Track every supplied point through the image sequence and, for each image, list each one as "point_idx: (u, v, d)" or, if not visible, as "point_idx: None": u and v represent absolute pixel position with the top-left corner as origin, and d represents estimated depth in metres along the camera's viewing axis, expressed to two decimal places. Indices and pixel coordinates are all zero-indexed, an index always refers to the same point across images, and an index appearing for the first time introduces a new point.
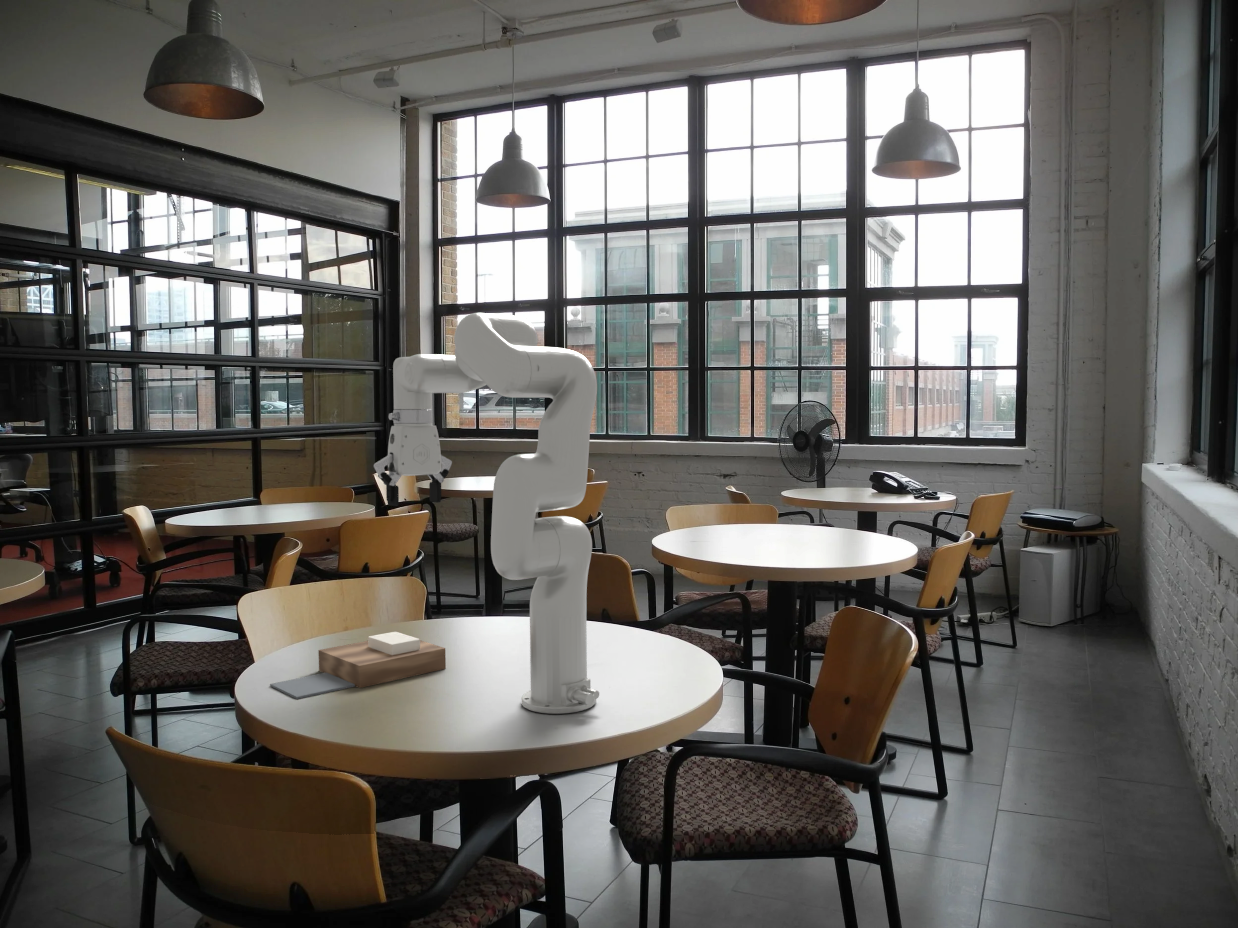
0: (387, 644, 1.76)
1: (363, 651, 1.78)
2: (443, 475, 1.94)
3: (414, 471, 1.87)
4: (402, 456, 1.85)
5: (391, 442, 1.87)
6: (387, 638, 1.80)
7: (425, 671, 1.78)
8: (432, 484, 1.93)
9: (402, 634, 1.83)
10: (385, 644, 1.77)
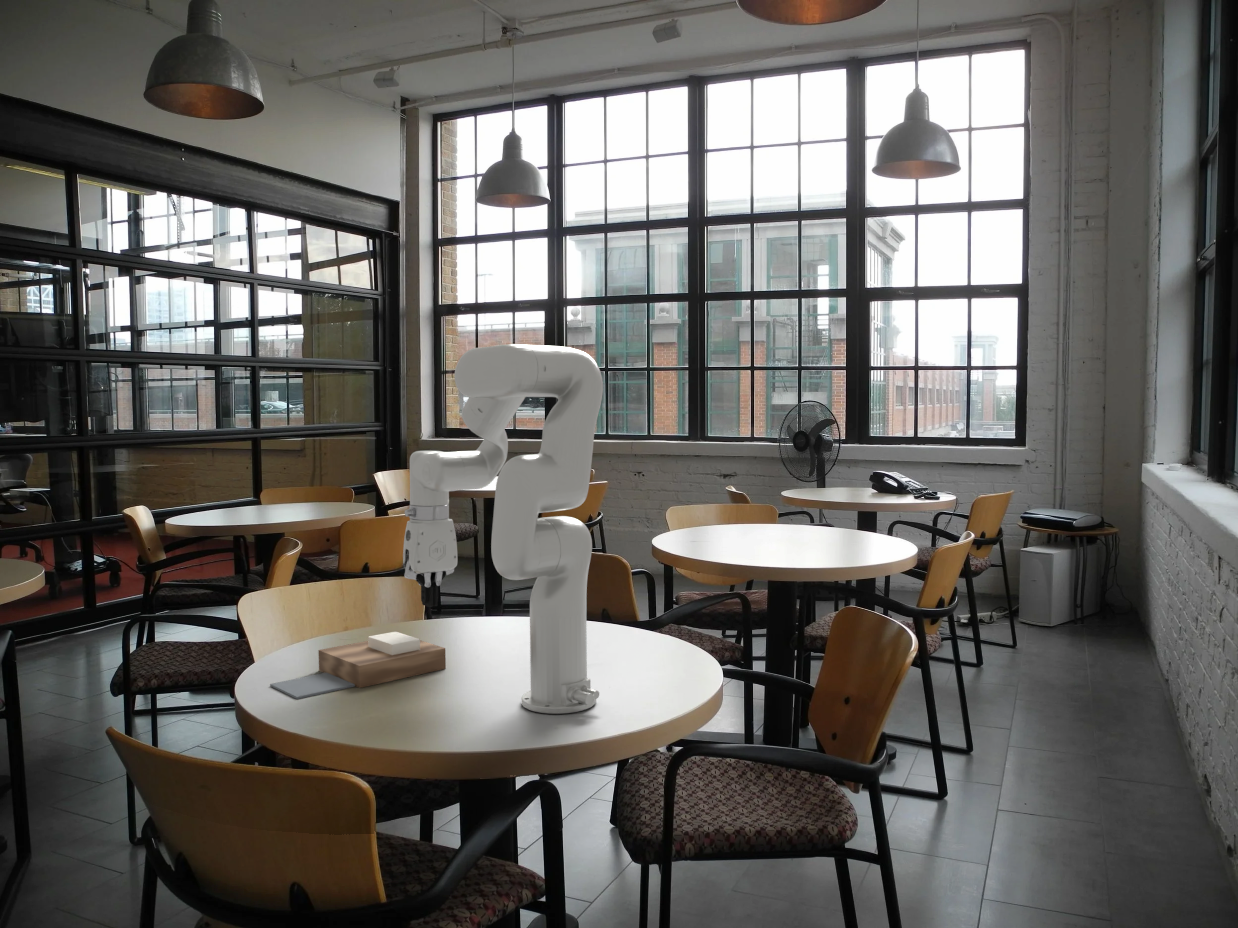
0: (387, 644, 1.76)
1: (363, 651, 1.78)
2: None
3: (430, 568, 1.83)
4: (418, 554, 1.81)
5: (407, 538, 1.83)
6: (387, 638, 1.80)
7: (425, 671, 1.78)
8: None
9: (402, 634, 1.83)
10: (385, 644, 1.77)
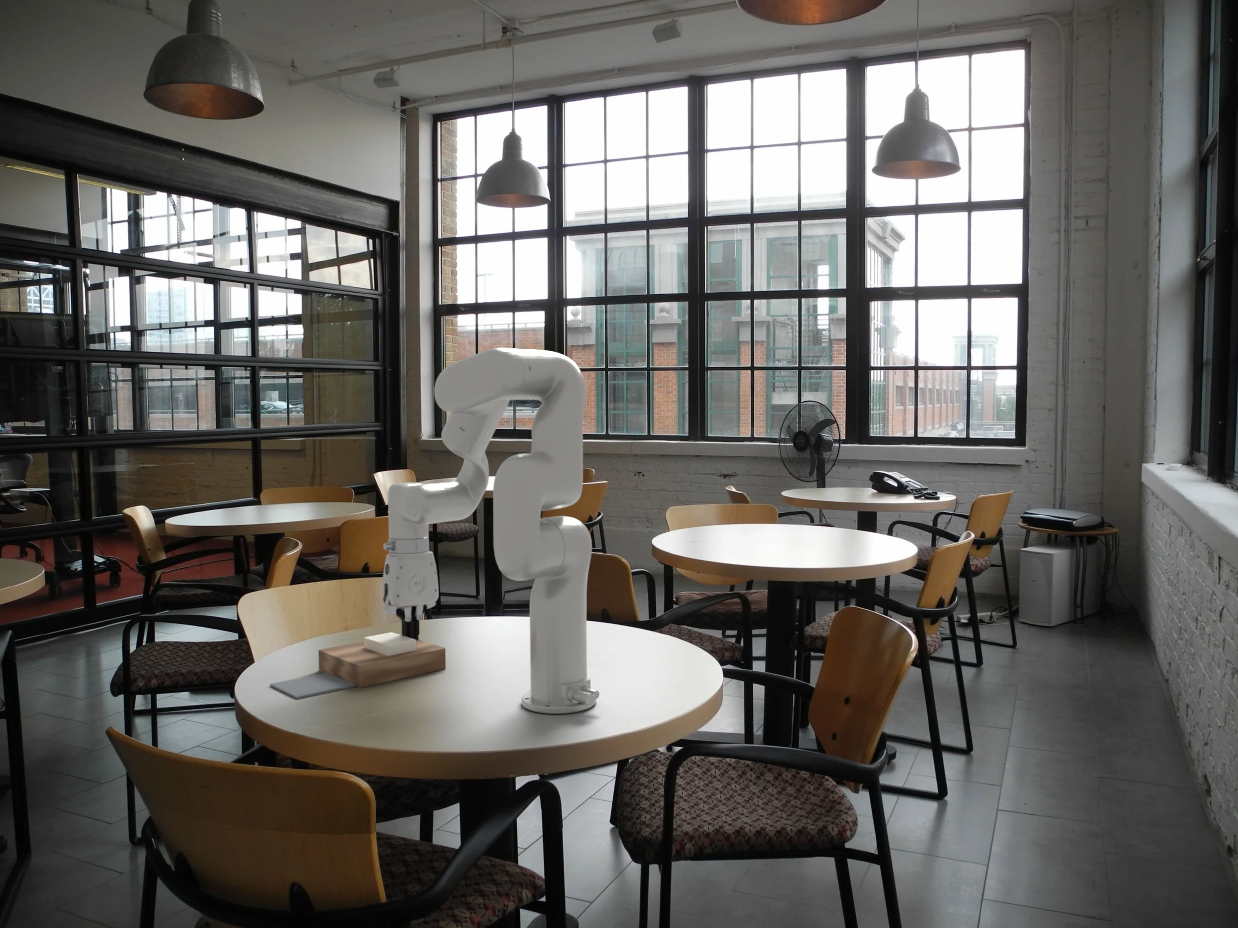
0: (383, 645, 1.76)
1: (363, 651, 1.78)
2: None
3: (410, 602, 1.80)
4: (397, 588, 1.78)
5: (386, 572, 1.80)
6: (383, 639, 1.80)
7: (425, 671, 1.78)
8: None
9: (398, 635, 1.83)
10: (381, 645, 1.76)
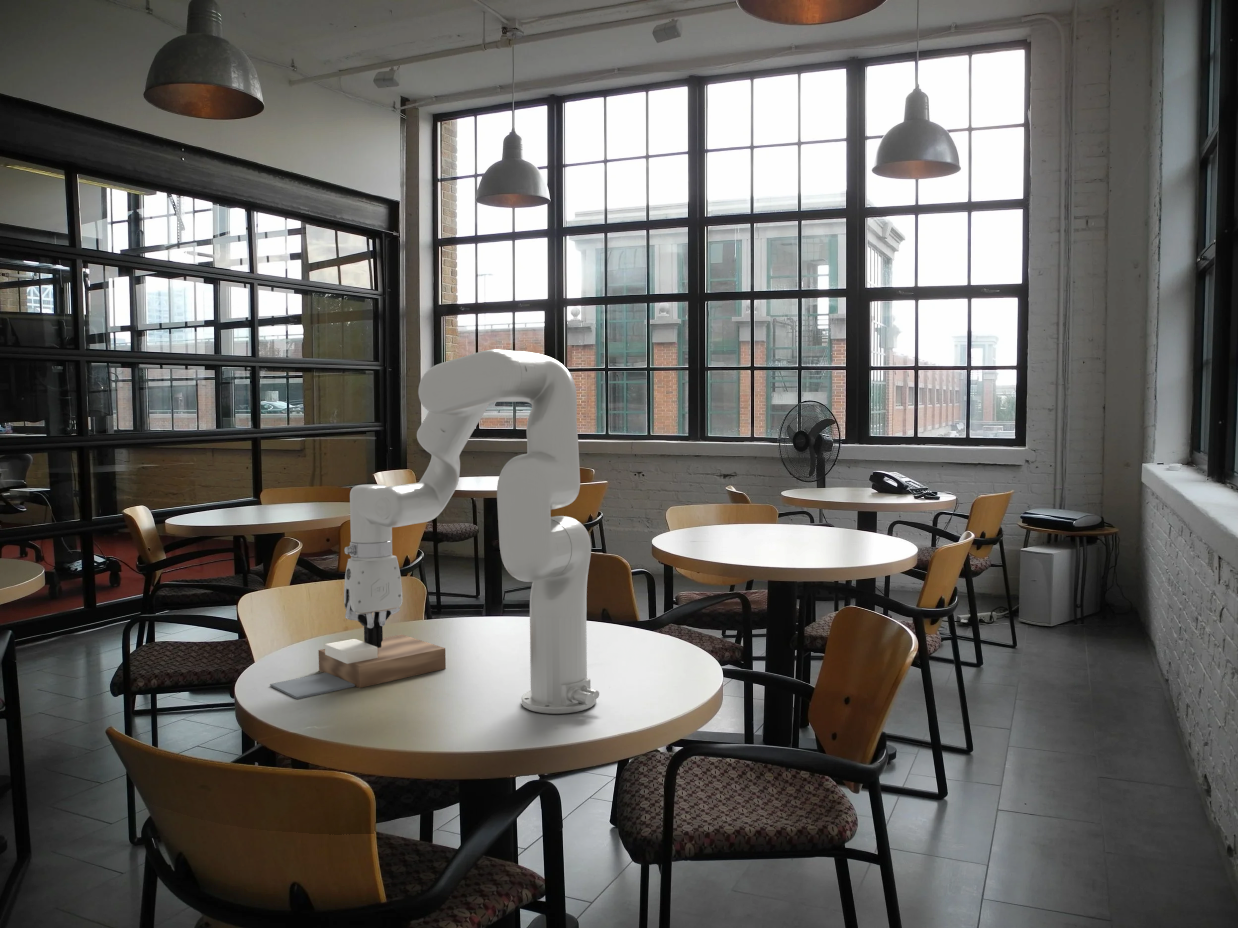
0: (342, 652, 1.71)
1: None
2: None
3: (372, 608, 1.74)
4: (358, 593, 1.72)
5: (347, 577, 1.74)
6: (344, 646, 1.74)
7: (425, 671, 1.78)
8: None
9: (360, 642, 1.77)
10: (341, 652, 1.71)
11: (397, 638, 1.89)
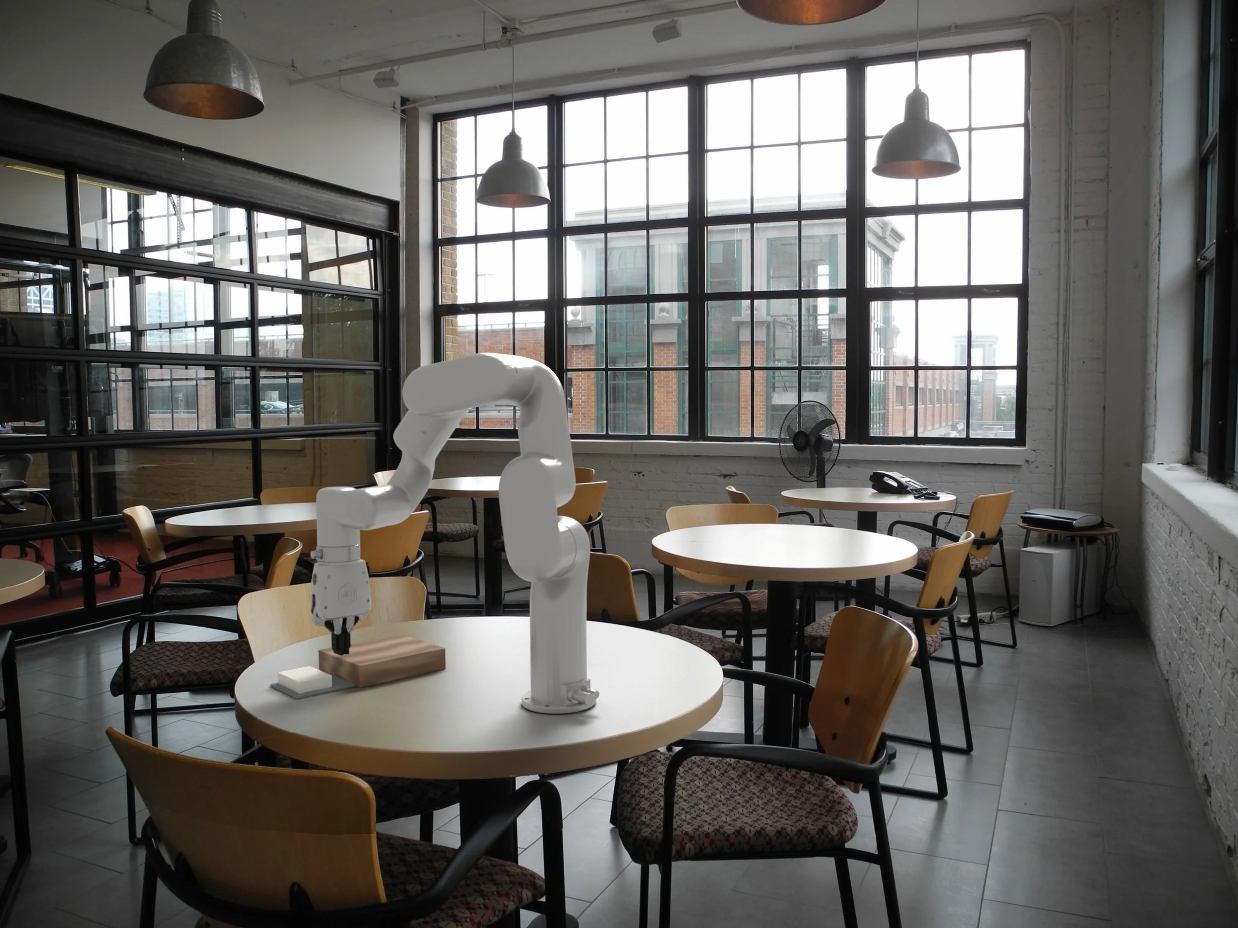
0: None
1: (363, 651, 1.78)
2: None
3: (339, 614, 1.70)
4: (325, 599, 1.68)
5: (314, 582, 1.70)
6: None
7: (425, 671, 1.78)
8: None
9: None
10: None
11: (397, 638, 1.89)
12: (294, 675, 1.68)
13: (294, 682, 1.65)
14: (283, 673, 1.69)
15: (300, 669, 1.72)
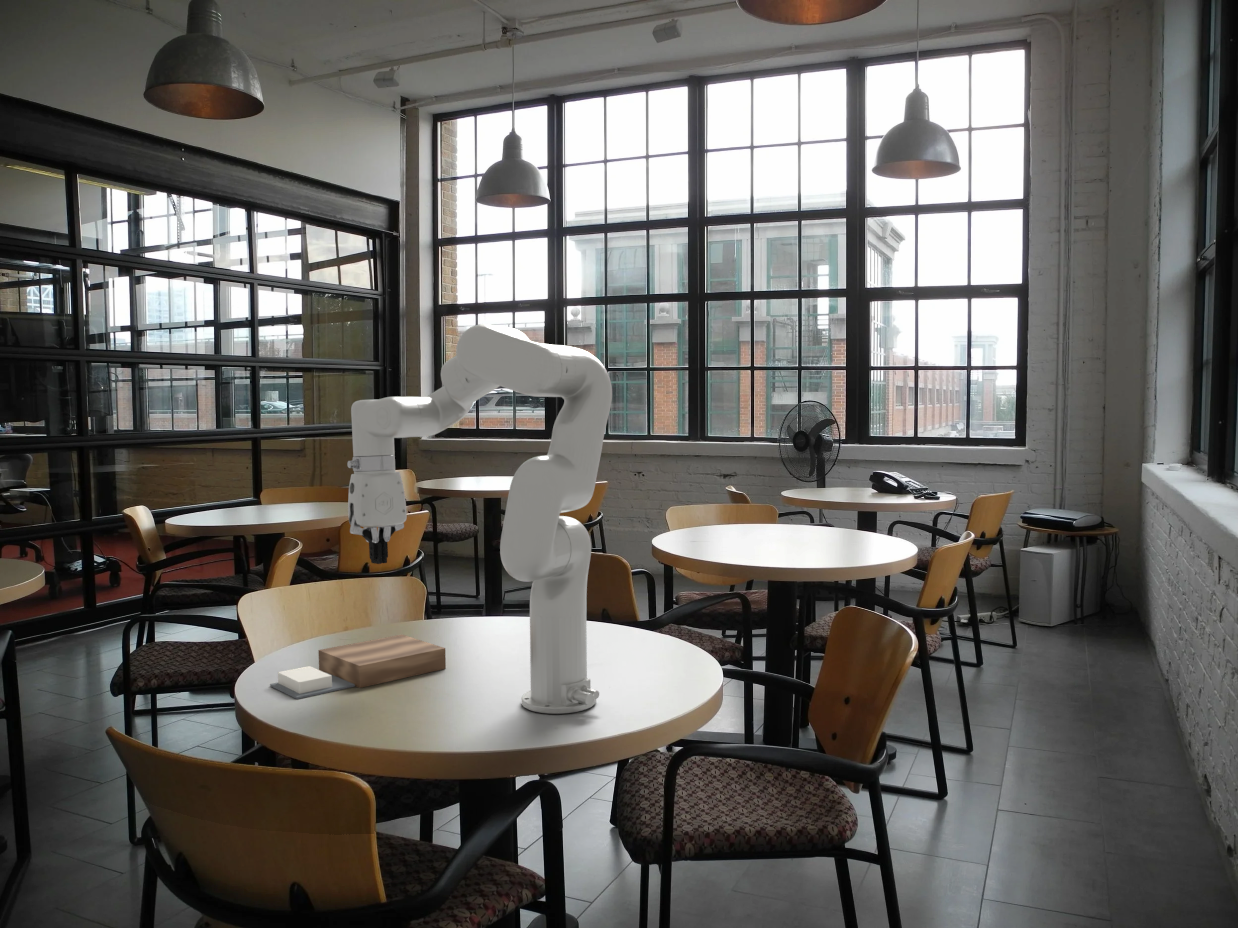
0: None
1: (363, 651, 1.78)
2: None
3: (377, 522, 1.74)
4: (363, 506, 1.72)
5: (351, 492, 1.74)
6: None
7: (425, 671, 1.78)
8: None
9: None
10: None
11: (397, 638, 1.89)
12: (294, 675, 1.68)
13: (294, 682, 1.65)
14: (283, 673, 1.69)
15: (300, 669, 1.72)
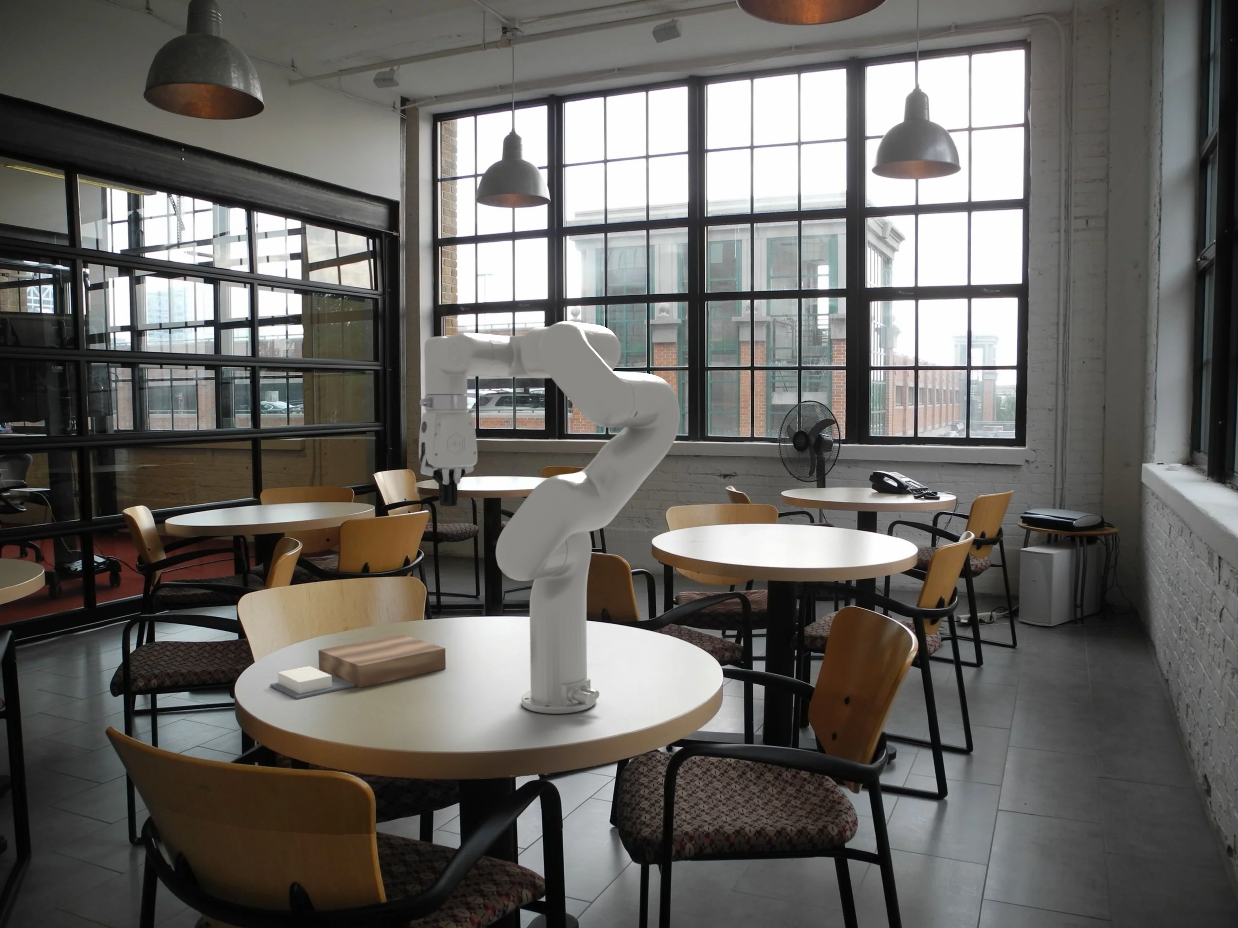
0: None
1: (363, 651, 1.78)
2: None
3: (448, 463, 1.69)
4: (435, 446, 1.67)
5: (423, 431, 1.69)
6: None
7: (425, 671, 1.78)
8: None
9: None
10: None
11: (397, 638, 1.89)
12: (294, 675, 1.68)
13: (294, 682, 1.65)
14: (283, 673, 1.69)
15: (300, 669, 1.72)
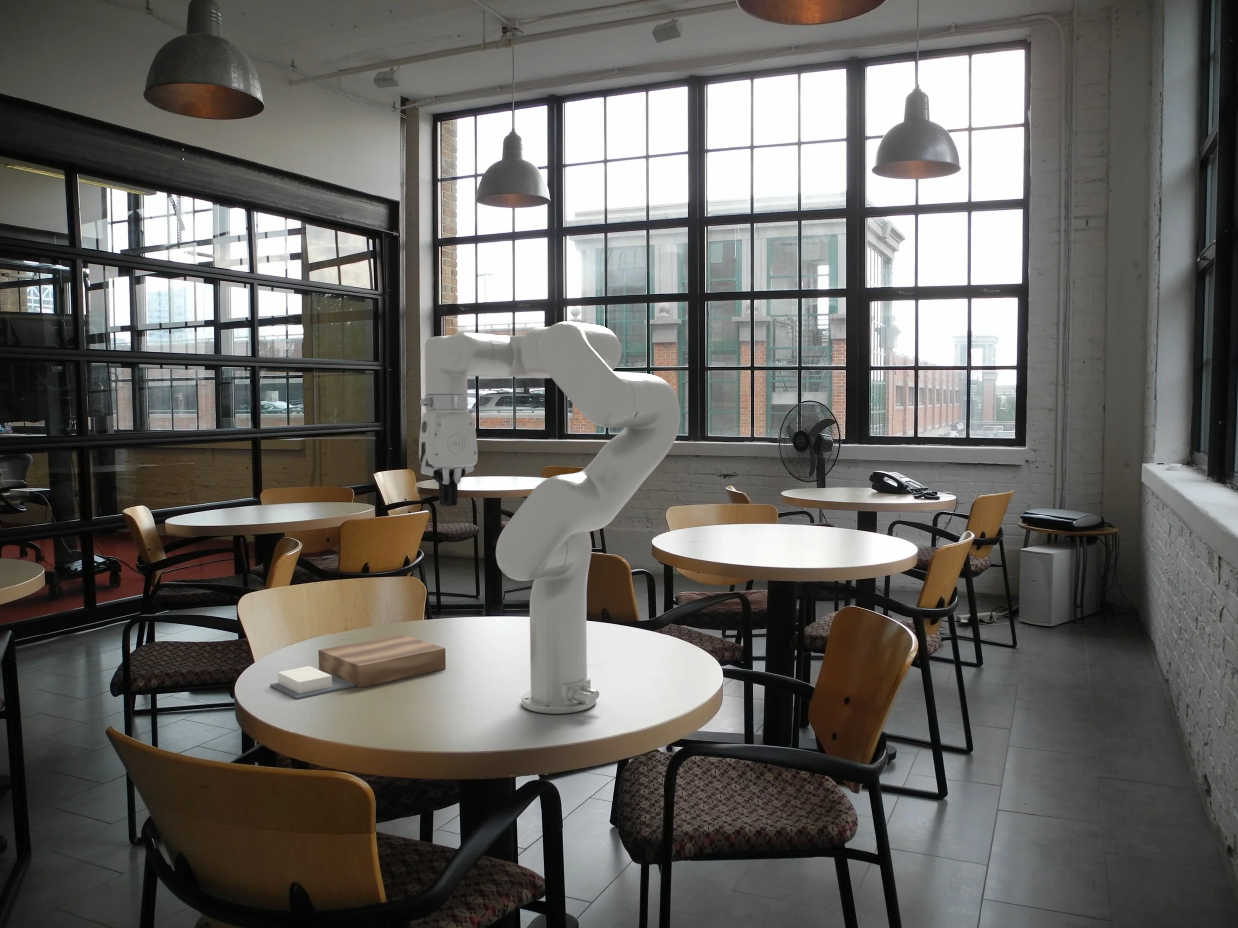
0: None
1: (363, 651, 1.78)
2: None
3: (448, 463, 1.69)
4: (435, 446, 1.67)
5: (423, 431, 1.69)
6: None
7: (425, 671, 1.78)
8: None
9: None
10: None
11: (397, 638, 1.89)
12: (294, 675, 1.68)
13: (294, 682, 1.65)
14: (283, 673, 1.69)
15: (300, 669, 1.72)
